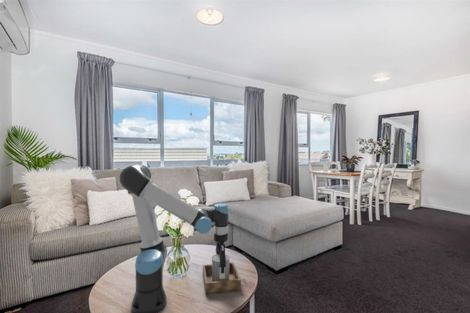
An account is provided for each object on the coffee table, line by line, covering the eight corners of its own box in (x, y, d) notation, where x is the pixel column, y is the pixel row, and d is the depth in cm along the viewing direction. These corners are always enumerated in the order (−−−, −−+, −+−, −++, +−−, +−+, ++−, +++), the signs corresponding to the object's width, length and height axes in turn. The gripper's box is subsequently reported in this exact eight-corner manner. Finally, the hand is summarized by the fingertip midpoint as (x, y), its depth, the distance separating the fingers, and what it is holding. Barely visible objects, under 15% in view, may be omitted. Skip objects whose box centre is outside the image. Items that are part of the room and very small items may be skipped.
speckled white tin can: (227, 286, 121) (227, 262, 121) (209, 284, 123) (209, 260, 123) (231, 276, 131) (231, 254, 130) (214, 274, 133) (214, 253, 132)
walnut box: (205, 294, 116) (205, 283, 116) (202, 274, 134) (202, 265, 134) (240, 290, 120) (240, 279, 119) (233, 271, 138) (233, 262, 138)
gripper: (232, 241, 115) (231, 283, 115) (223, 225, 139) (223, 260, 140) (217, 242, 113) (216, 285, 114) (211, 225, 138) (210, 261, 138)
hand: (220, 271), depth 127 cm, fingers open, 13 cm apart
